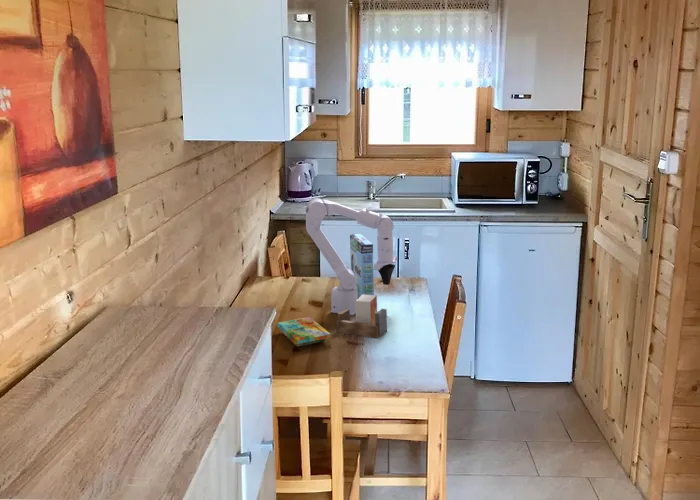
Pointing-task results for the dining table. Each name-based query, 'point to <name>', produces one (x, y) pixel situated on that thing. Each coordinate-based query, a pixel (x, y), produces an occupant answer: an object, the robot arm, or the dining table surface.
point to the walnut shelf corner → (355, 326)
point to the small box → (366, 309)
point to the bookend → (381, 321)
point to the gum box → (362, 263)
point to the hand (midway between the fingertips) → (386, 284)
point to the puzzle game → (303, 331)
